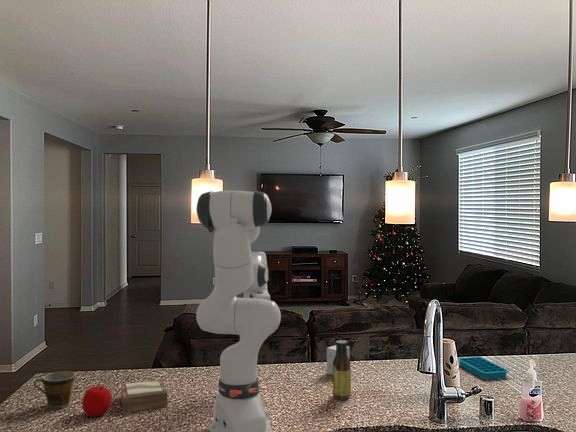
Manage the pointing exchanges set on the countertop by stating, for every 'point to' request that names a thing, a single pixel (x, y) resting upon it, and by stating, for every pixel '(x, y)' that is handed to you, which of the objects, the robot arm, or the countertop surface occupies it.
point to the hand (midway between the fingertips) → (255, 330)
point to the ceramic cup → (58, 388)
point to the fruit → (96, 401)
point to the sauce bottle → (341, 372)
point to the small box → (330, 358)
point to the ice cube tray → (483, 367)
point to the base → (143, 395)
